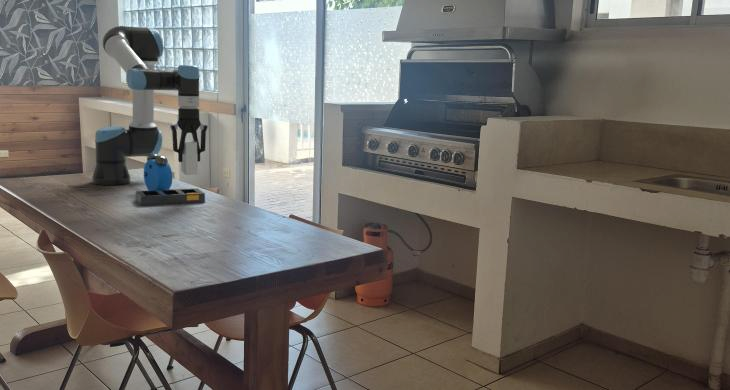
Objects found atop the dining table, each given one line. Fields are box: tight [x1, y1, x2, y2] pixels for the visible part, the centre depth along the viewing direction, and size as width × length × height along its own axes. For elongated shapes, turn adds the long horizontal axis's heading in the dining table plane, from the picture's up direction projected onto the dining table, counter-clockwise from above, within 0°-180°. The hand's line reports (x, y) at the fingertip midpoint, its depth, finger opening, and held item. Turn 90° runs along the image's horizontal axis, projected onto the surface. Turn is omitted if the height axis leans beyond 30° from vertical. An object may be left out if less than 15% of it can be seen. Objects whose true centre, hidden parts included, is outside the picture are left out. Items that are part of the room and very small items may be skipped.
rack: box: [135, 188, 206, 207], centre depth 247 cm, size 11×23×4 cm, turn 118°
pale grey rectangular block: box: [181, 140, 198, 176], centre depth 248 cm, size 7×4×12 cm, turn 28°
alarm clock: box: [143, 154, 173, 191], centre depth 263 cm, size 13×6×15 cm, turn 44°
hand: (189, 170), depth 249 cm, fingers closed on pale grey rectangular block, 4 cm apart
